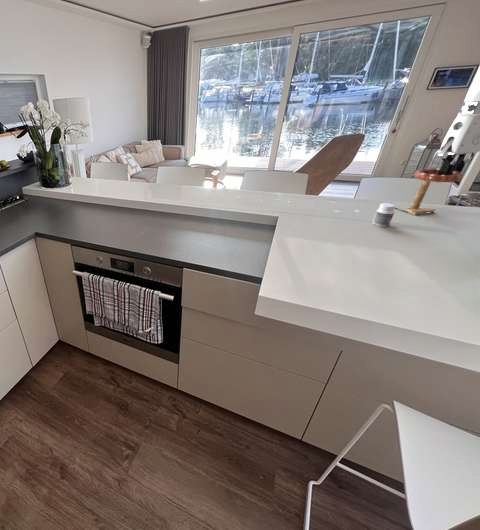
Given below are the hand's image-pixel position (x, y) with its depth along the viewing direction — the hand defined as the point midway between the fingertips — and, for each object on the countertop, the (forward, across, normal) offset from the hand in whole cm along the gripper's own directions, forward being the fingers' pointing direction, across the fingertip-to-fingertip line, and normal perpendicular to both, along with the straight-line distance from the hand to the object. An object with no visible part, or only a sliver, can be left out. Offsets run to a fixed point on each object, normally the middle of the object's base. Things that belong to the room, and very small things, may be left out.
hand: (447, 176), depth 87 cm
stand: (+20, +19, +18) cm, 33 cm away
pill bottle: (+20, -5, +10) cm, 23 cm away
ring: (-1, -4, 0) cm, 4 cm away
